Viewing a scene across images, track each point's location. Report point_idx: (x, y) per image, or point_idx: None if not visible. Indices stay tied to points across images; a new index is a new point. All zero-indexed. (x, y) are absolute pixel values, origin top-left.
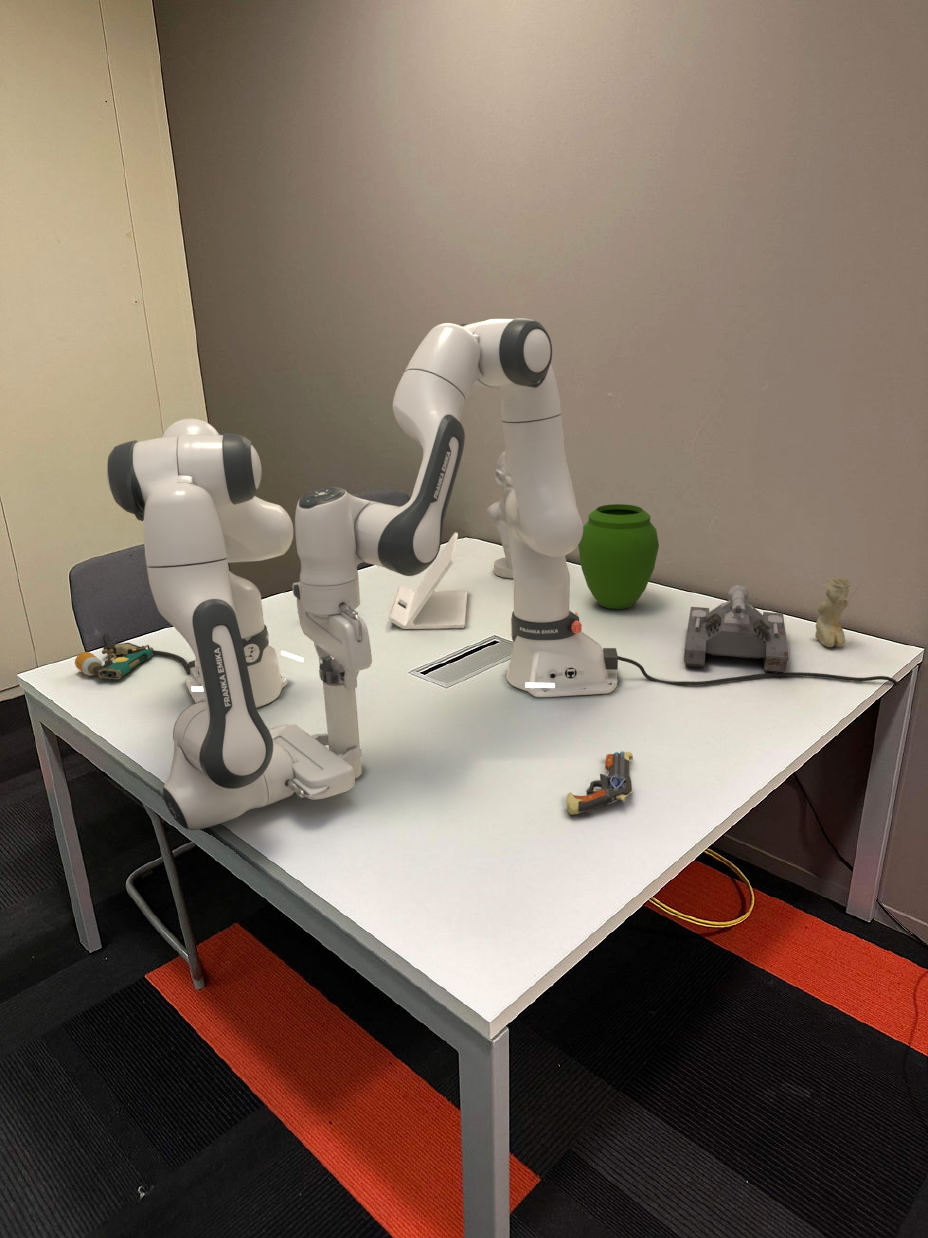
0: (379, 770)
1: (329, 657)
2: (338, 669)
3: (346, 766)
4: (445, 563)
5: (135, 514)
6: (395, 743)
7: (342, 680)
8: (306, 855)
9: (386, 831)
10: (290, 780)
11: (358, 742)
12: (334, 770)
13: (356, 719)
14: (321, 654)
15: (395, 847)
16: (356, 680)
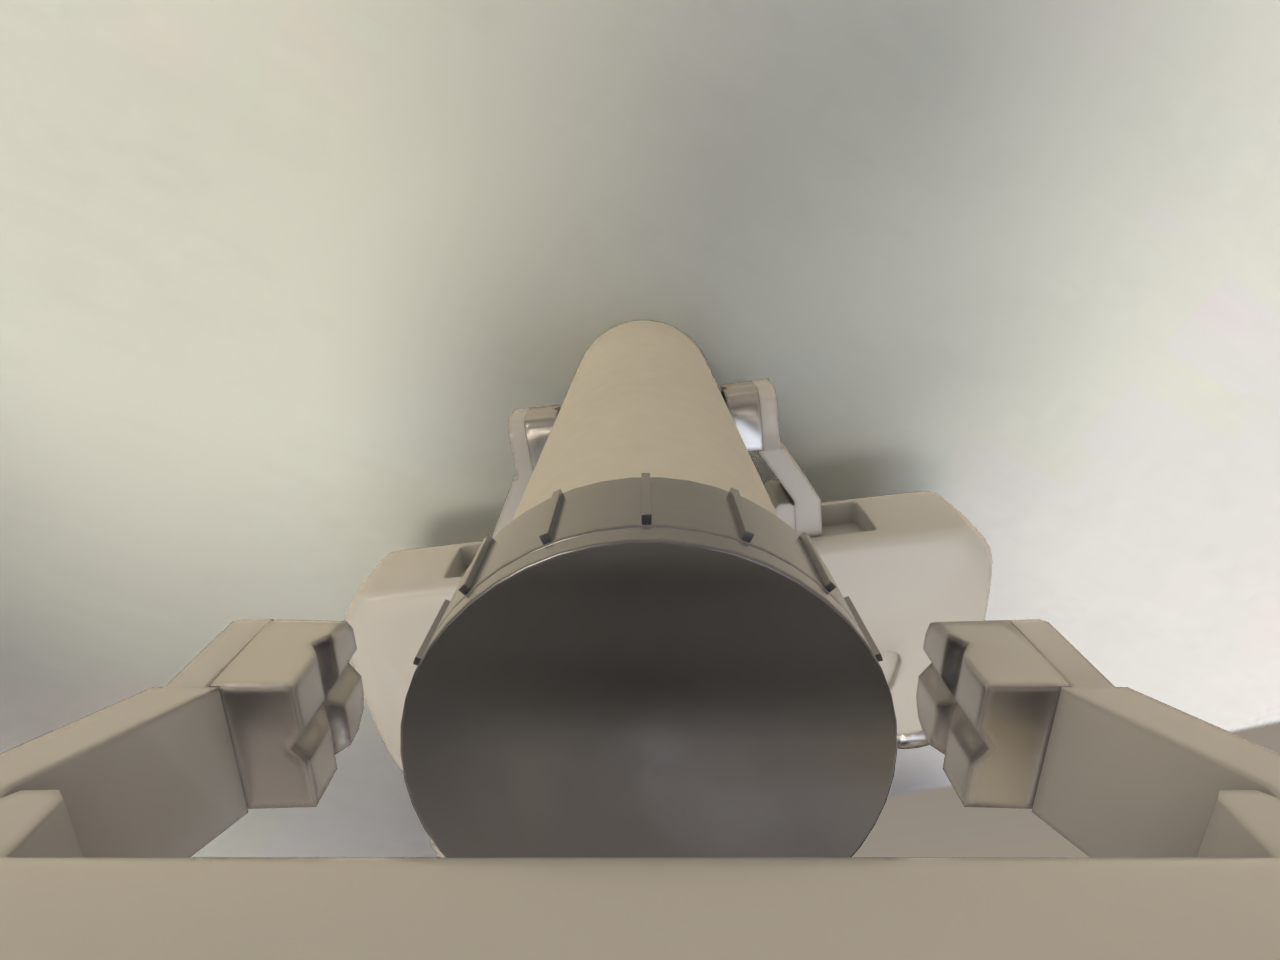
0: (705, 247)
1: (268, 713)
2: (786, 802)
3: (958, 561)
4: None
5: None
6: (500, 34)
7: (945, 772)
8: None
9: (1128, 436)
10: None
11: (704, 372)
12: (950, 620)
13: (723, 411)
14: (197, 819)
15: (1234, 453)
16: (1091, 665)
